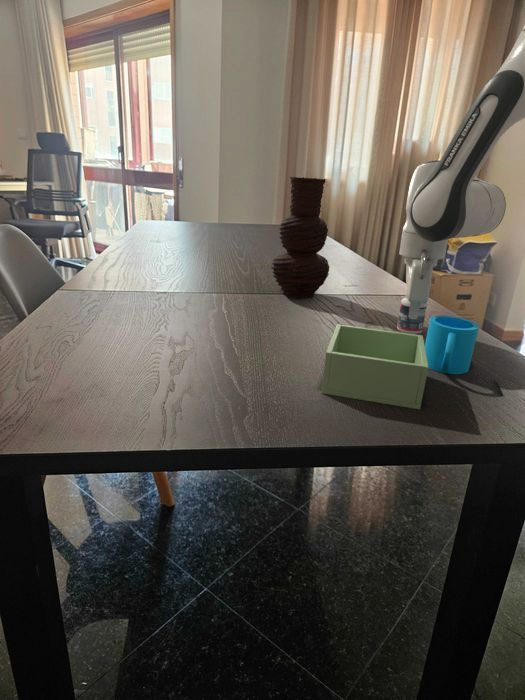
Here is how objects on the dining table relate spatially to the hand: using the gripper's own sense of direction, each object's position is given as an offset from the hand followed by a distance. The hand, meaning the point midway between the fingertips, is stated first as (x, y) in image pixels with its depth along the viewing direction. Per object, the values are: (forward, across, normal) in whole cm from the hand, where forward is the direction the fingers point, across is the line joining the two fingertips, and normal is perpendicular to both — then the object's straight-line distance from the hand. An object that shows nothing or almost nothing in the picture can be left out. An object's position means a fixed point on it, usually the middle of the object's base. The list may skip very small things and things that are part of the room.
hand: (412, 313), depth 99 cm
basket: (+5, -28, +6) cm, 29 cm away
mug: (+5, -17, -6) cm, 18 cm away
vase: (+4, +23, +29) cm, 37 cm away
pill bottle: (+4, 0, 0) cm, 4 cm away
